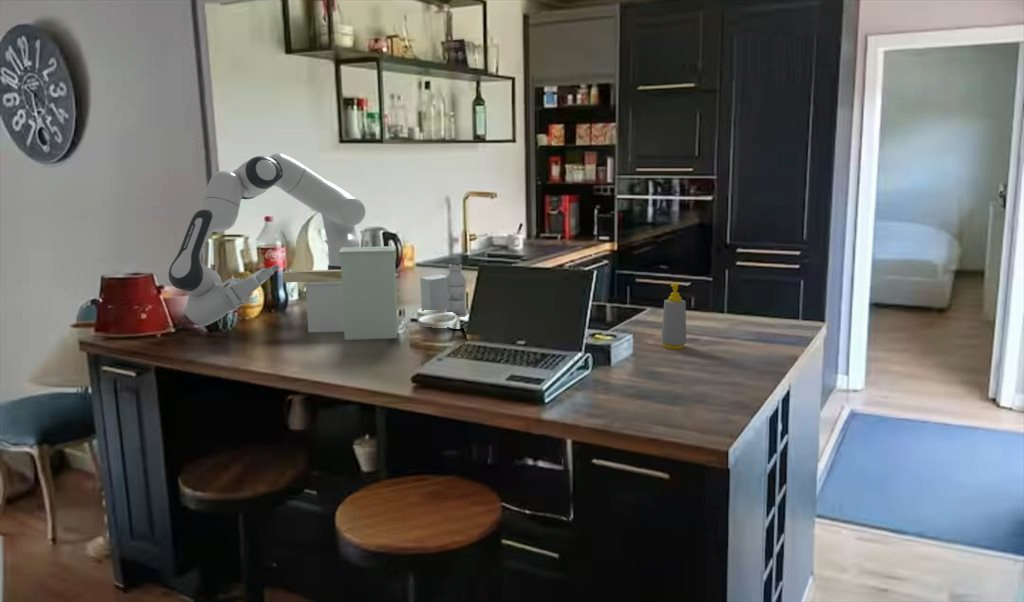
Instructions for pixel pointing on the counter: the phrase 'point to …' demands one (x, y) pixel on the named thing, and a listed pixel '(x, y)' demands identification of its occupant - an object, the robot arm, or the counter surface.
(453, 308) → the plastic bottle
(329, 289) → the grey box
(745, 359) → the counter surface
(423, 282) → the skincare box
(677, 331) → the soap bottle
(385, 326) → the stand
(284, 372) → the counter surface
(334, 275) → the rail
